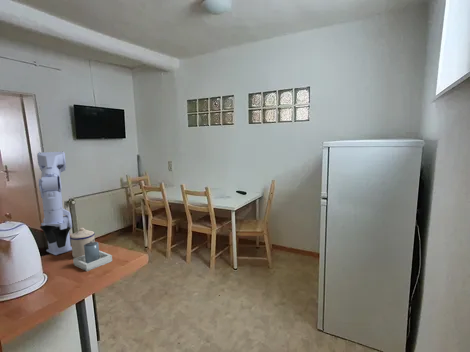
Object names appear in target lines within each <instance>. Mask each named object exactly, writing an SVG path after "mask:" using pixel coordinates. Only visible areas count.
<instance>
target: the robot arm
mask: <svg viewBox="0 0 470 352" xmlns="http://www.w3.org/2000/svg"><path fill="white" fill-rule="evenodd" d="M36 155H37V156H36V157H37V165H38V166H39V170H40V172H41V175H40V176H41V178H39V179H38V189H39V192H40V197H41V201H42V208H43V219H42V221H43V222H41V223H40V226H39V228H40V229H41V231H42V232H43V233H44V234H45V237H46V240H47V245H48V248H47V249H46V250H45V251H46V252H47V253H49V254H51V255H54V256H58V255H62V254H64V253H67V252H71V251H72V244H71V239H70V236H71V234H70V230H72V228H73V222H72V215H71V211H69V210H67V209H65V208H64V207H63V206H64V205H63V194H62V189H63V187H62V179H61V175H62V173H63V172H65V171H66V169H67V161H66V153H65V151H64V150H63V151H48V152H47V151H45V152H41V151H38V152H37V154H36Z"/></svg>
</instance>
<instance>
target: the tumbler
mask: <svg viewBox="0 0 470 352" xmlns="http://www.w3.org/2000/svg"><path fill="white" fill-rule="evenodd" d="M84 251H85V261H86V263H87V264H88V263H90V262H93V261H96V260H98V259H100V255H99V251H100V244H99V242H98V241H95V242H90V243H87V244H85V245H84Z"/></svg>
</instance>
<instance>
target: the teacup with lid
mask: <svg viewBox="0 0 470 352" xmlns="http://www.w3.org/2000/svg"><path fill="white" fill-rule="evenodd" d="M90 242H96V241H95V231H93V230H88V229H85V227H80V228H79V230H77V231H76V232H73V233H71V234H70V244H71V247H72V250H71V251H72V252H71V253H72V257H73V259H74V258H77V257H80V256H83V255H85V251H84V245H85V244H87V243H90Z"/></svg>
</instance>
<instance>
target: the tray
mask: <svg viewBox="0 0 470 352" xmlns="http://www.w3.org/2000/svg"><path fill="white" fill-rule="evenodd" d="M99 255H100V259H98V260H96V261H93V262H90V263H88V264H87V263H86V261H85V255H83V256H80V257H77V258H74V257H73V258H72V260H73V266H75V267H77V268H79V269H81V270H83V271H84V272H89V271H91V270H94V269H96V268H99V267H101V266H104V265H106V264H109V263H111V262H113V255H112V254H110V253H107V252H104V251H102V250H99Z"/></svg>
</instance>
